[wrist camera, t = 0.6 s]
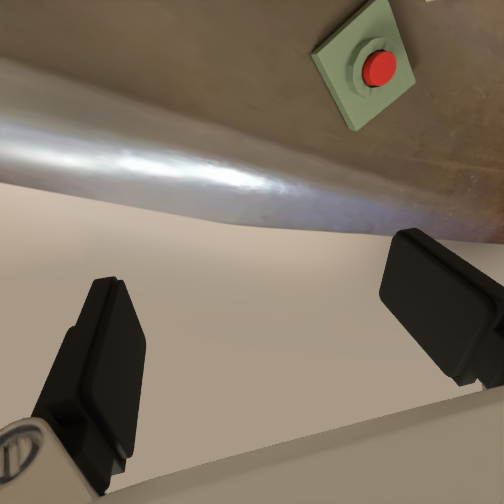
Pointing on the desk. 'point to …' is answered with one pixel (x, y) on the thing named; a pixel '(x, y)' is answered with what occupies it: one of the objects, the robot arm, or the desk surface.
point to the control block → (353, 59)
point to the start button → (379, 68)
